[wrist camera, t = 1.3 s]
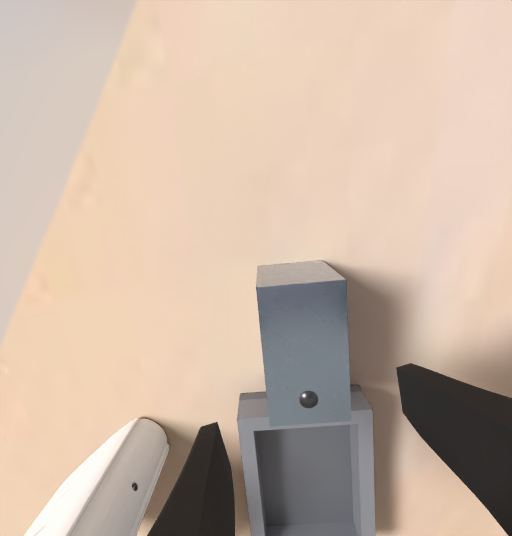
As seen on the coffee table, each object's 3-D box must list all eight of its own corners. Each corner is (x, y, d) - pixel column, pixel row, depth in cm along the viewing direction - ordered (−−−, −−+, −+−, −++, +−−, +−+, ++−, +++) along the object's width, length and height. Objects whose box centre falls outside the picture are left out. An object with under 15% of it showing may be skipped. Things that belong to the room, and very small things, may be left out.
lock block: (321, 259, 20) (346, 279, 15) (327, 364, 22) (351, 421, 16) (257, 265, 21) (256, 287, 15) (267, 369, 22) (269, 427, 16)
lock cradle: (358, 384, 22) (372, 409, 19) (363, 520, 24) (376, 559, 22) (240, 393, 22) (237, 419, 20) (255, 526, 25) (254, 566, 22)
